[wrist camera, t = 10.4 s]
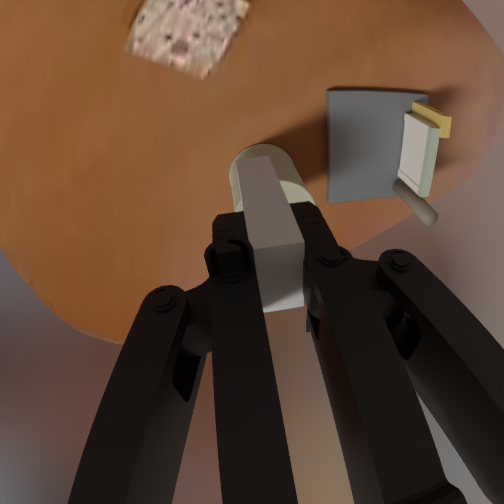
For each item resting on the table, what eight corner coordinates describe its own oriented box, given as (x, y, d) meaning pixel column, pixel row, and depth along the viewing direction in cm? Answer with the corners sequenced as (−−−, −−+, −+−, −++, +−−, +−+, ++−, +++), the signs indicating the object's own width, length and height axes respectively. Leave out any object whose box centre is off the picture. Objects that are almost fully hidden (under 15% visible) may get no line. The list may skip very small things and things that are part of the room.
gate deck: (326, 89, 35) (361, 108, 27) (424, 93, 36) (472, 115, 27) (326, 199, 46) (352, 242, 38) (413, 190, 46) (448, 227, 38)
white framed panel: (405, 175, 43) (428, 196, 37) (397, 175, 43) (420, 197, 37) (413, 113, 36) (440, 128, 31) (404, 113, 36) (431, 128, 31)
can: (216, 184, 43) (218, 233, 33) (253, 131, 38) (268, 165, 29) (269, 212, 47) (284, 264, 37) (307, 165, 42) (335, 208, 33)
